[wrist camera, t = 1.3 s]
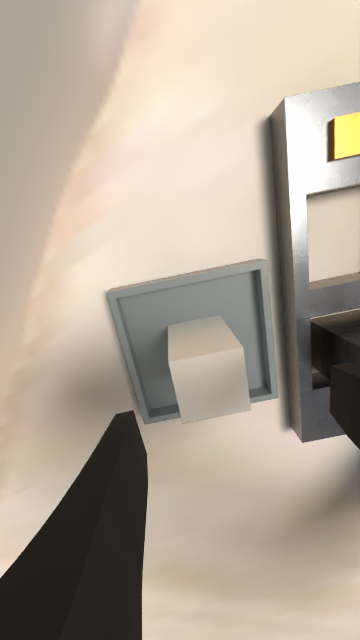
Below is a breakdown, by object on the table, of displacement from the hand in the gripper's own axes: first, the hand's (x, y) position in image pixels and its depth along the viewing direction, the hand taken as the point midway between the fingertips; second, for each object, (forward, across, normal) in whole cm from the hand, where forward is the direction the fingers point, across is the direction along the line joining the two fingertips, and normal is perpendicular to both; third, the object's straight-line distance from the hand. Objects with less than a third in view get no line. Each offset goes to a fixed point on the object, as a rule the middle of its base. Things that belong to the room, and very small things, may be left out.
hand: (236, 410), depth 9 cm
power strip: (+10, -11, 0) cm, 15 cm away
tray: (+11, 0, +2) cm, 11 cm away
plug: (+10, 0, +2) cm, 11 cm away
